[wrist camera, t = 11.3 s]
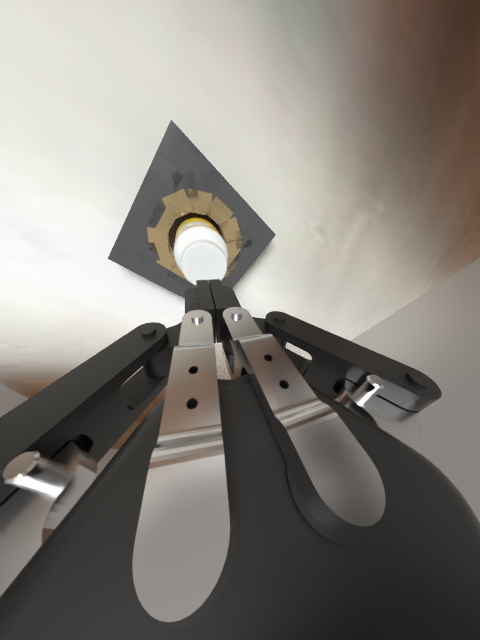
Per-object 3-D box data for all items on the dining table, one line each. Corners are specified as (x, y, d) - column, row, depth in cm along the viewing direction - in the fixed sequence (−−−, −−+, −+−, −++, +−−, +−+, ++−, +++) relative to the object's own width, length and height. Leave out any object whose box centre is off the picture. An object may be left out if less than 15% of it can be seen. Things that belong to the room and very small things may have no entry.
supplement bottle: (171, 216, 20) (164, 233, 13) (217, 215, 21) (234, 231, 14) (180, 261, 23) (179, 296, 16) (219, 259, 24) (235, 290, 17)
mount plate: (172, 127, 16) (171, 119, 14) (268, 230, 24) (275, 234, 22) (114, 251, 21) (107, 258, 19) (210, 303, 28) (212, 312, 26)
